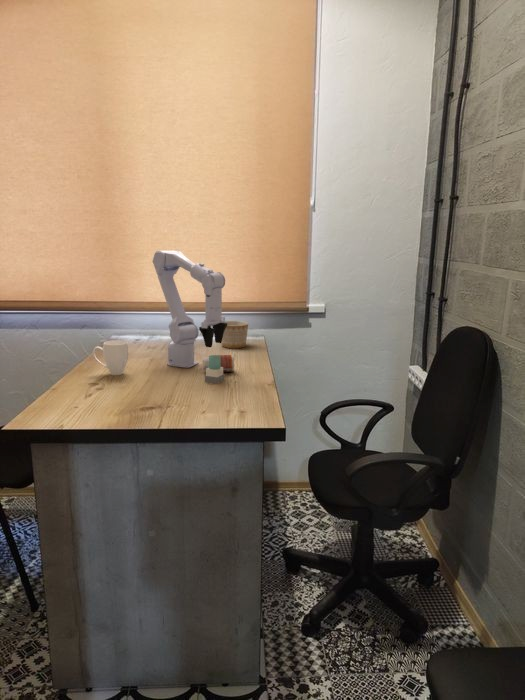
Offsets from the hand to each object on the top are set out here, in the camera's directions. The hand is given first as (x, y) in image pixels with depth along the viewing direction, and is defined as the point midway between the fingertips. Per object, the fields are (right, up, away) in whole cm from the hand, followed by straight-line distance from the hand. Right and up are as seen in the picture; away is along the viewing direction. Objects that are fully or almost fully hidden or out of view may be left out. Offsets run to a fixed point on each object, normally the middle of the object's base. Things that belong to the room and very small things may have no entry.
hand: (213, 344), depth 180 cm
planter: (+5, 0, +46) cm, 46 cm away
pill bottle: (+7, -7, +4) cm, 11 cm away
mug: (-36, -11, -1) cm, 38 cm away
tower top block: (+1, -10, -8) cm, 13 cm away
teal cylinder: (+1, -8, -8) cm, 12 cm away
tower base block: (+1, -13, -7) cm, 15 cm away
